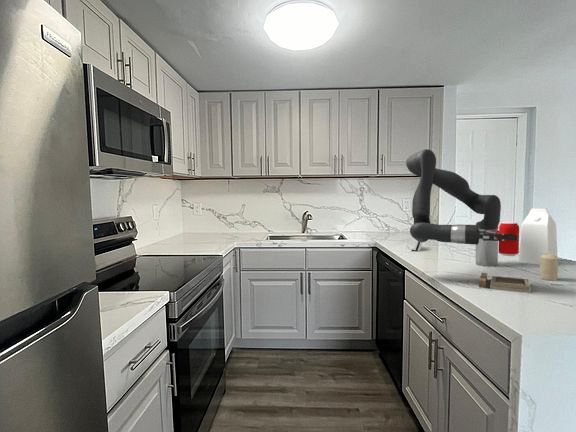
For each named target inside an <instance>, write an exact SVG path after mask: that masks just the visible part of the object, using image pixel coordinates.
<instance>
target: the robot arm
mask: <svg viewBox="0 0 576 432" xmlns="http://www.w3.org/2000/svg"><path fill="white" fill-rule="evenodd" d="M405 165H406V168H407V169H408V171H409V172H410V173H412V174H413V175H415V176H417V177H419V178H420V179H419V182H418V185H417V186H416V188H415V191H414V194H413V197H412V204H411V208H412V209H411V214H412V218H413V224H412V225H411V226H410V229H409V233H410V235H411V237H413V238H414V239H415V240H417V241H419V242H423V243H426V242H427V241H428V240H431V241H432V240H434V241H437V242H440V243H451V244H452V243H453V244H458V245H459V244H460V245H475V265H477V266H482V267H496V266H498V265H499V264H498V263H499V241H504V239H505V240H513V241H516V240H517V235H516V234H505V235H504V234H503V233H499V226H500V222H501V210H502V206H501V205H502V204H501V200H500V199H501V198H499V197H498V196H497V195H495V194H479V193H477V192H475V191H473V190H472V189H471V188H470V187H471V186H470V185H469V181H467V179H465V178H464V177H462V176H461V175H460V174H458V173H456V172H454V171H451V170H445V169H440V168H436V166H437V157H436V154H435V152H434V151H432V150H431V149H427V148H426V149H422V150H419V151H418V152H414V153H413V154H412V155H411V154H410V156H408V157H407V158H406V161H405ZM433 185H434V186H436V187H437V188H439V189H441V191H444V192H445V193H447V194H448V195H450V196H451V197H454V198H455V199H456V200H458V201H460V202H461V203H463V204H464V205H465V206H467V208H469V209H471V210H472V211H473V212H474V213H476V214H479V215H483V218H482V220H480V221H478V222H476V223H475V224H461V223H460V224H459V223H458V224H437V223H431V217H430V216H431V215H430V214H431V194H432V187H433Z"/></svg>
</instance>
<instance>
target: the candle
mask: <svg viewBox="0 0 576 432" xmlns="http://www.w3.org/2000/svg"><path fill="white" fill-rule="evenodd" d="M558 265H559V258H558V256H557V257H556V256H555V255H554V254H553V255H552V254H551V253H547V254H545V255H542V256H541V257H540V265H539V279H540V280H545V281H558V273H559V270H558V269H559V267H558Z"/></svg>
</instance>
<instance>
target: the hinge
mask: <svg viewBox="0 0 576 432" xmlns="http://www.w3.org/2000/svg"><path fill="white" fill-rule="evenodd" d="M411 237H412V236H411ZM423 243H424V242H419V241H417V240H415V239H414V238H413V237H412V238H411V240H410V243H408V244H407V245H406V248H407V249H408V250H409V252H412V250H413V251H417V252H420V251H421V248H422V246H423Z"/></svg>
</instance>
